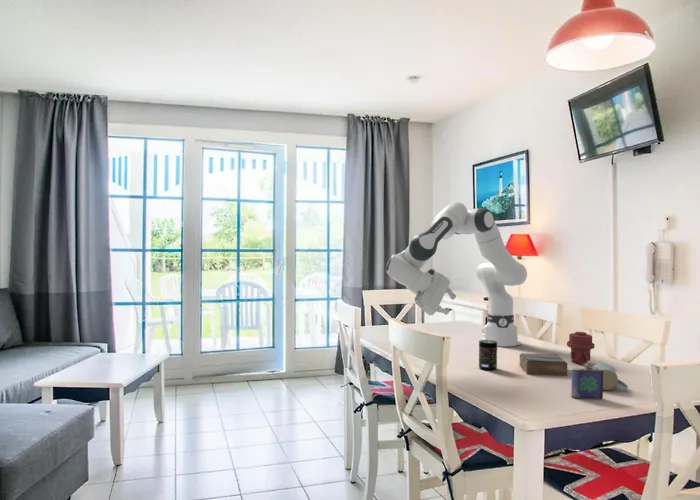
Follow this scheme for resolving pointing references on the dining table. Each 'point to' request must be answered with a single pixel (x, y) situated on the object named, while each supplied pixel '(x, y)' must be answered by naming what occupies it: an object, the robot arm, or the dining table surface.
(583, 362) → the mechanical component
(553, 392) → the dining table surface
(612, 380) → the ceramic mug
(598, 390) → the flask
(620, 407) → the dining table surface
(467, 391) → the dining table surface
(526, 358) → the walnut stand
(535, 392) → the dining table surface
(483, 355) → the supplement container
